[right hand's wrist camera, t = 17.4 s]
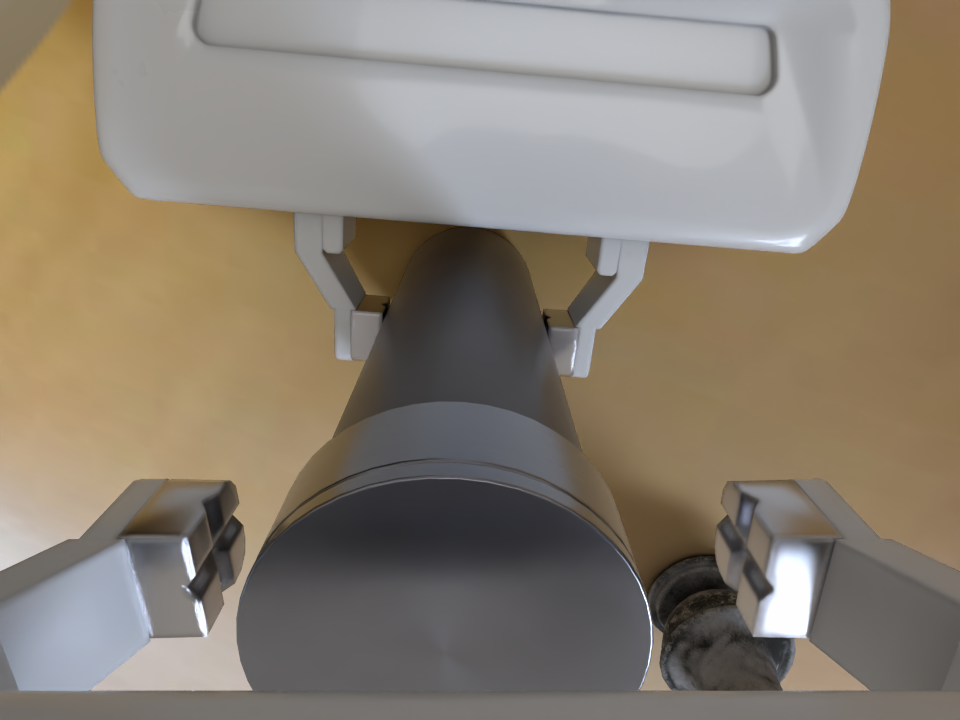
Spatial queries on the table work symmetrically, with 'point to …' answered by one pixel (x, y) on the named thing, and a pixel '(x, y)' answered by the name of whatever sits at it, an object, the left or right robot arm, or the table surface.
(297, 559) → the lid
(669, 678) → the dark grey chess piece
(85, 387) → the table surface
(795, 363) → the table surface
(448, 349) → the grey tall cylinder
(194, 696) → the right robot arm
